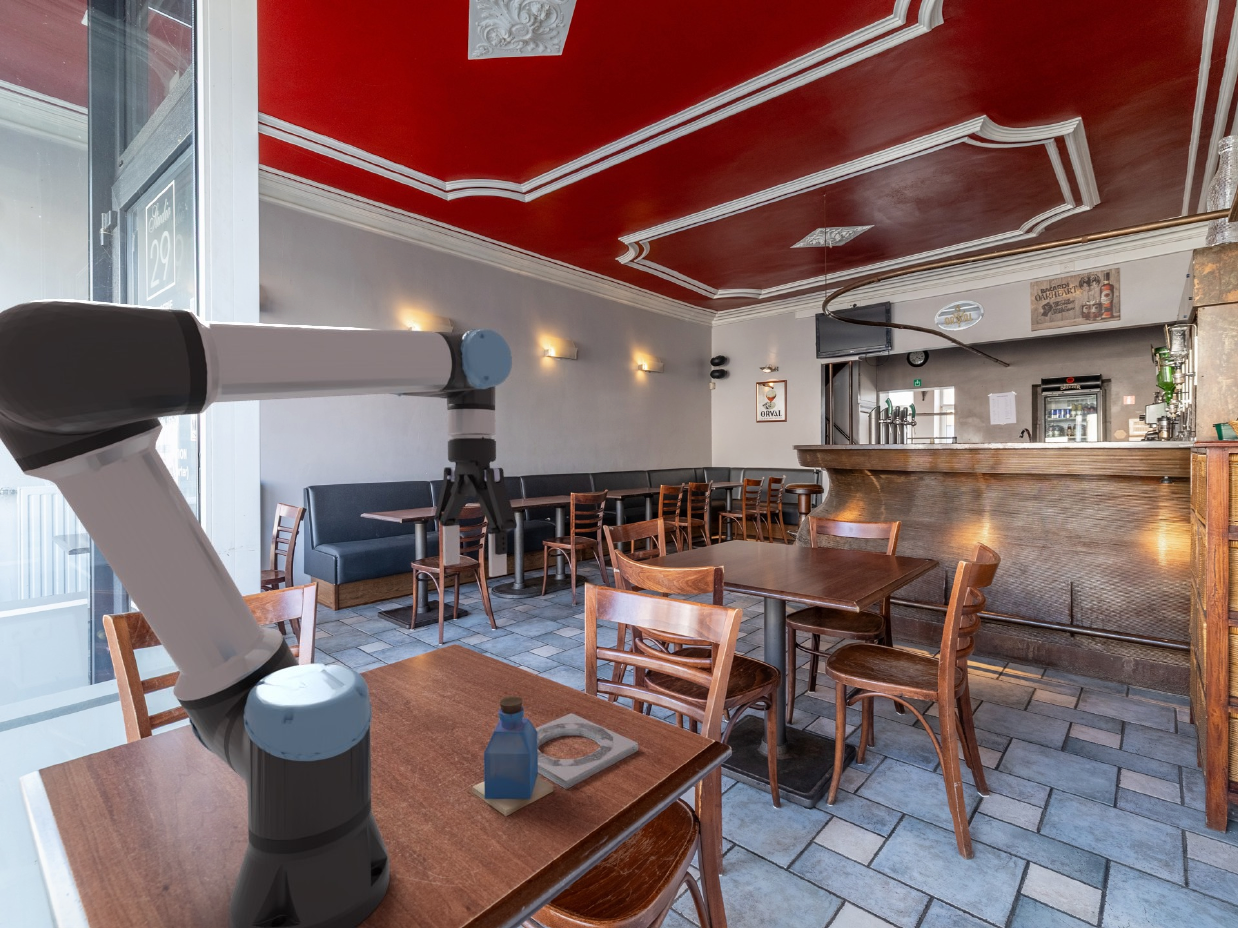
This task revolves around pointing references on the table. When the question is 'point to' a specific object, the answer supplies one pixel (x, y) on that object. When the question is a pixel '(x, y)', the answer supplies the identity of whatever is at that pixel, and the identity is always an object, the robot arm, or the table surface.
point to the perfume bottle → (511, 754)
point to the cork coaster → (514, 804)
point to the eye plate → (584, 767)
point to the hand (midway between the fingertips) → (473, 569)
